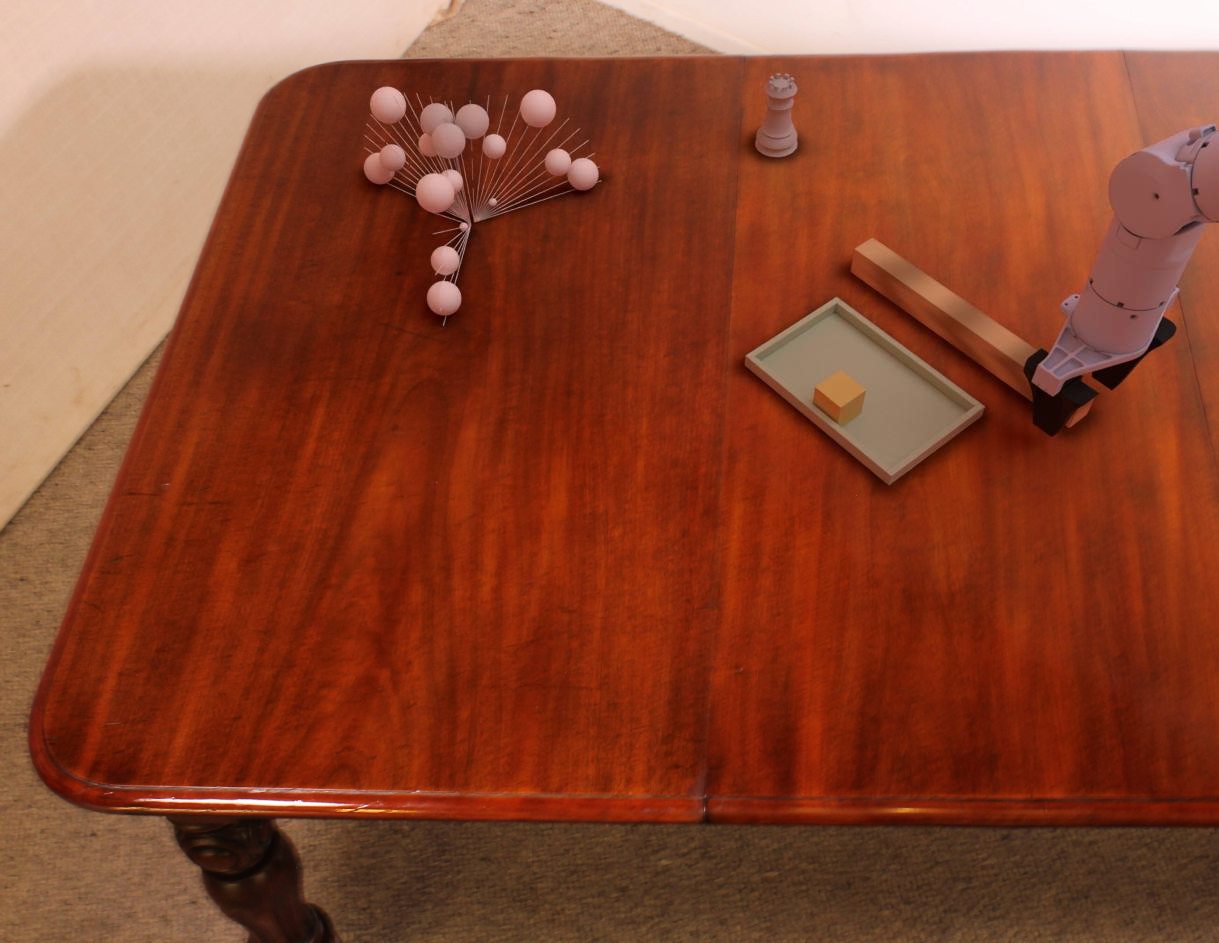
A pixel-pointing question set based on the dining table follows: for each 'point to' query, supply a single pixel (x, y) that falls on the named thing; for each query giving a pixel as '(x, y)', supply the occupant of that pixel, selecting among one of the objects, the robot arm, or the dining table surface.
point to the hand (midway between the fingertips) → (1074, 404)
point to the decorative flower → (450, 143)
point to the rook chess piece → (778, 119)
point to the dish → (891, 374)
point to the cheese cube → (839, 398)
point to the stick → (948, 316)
